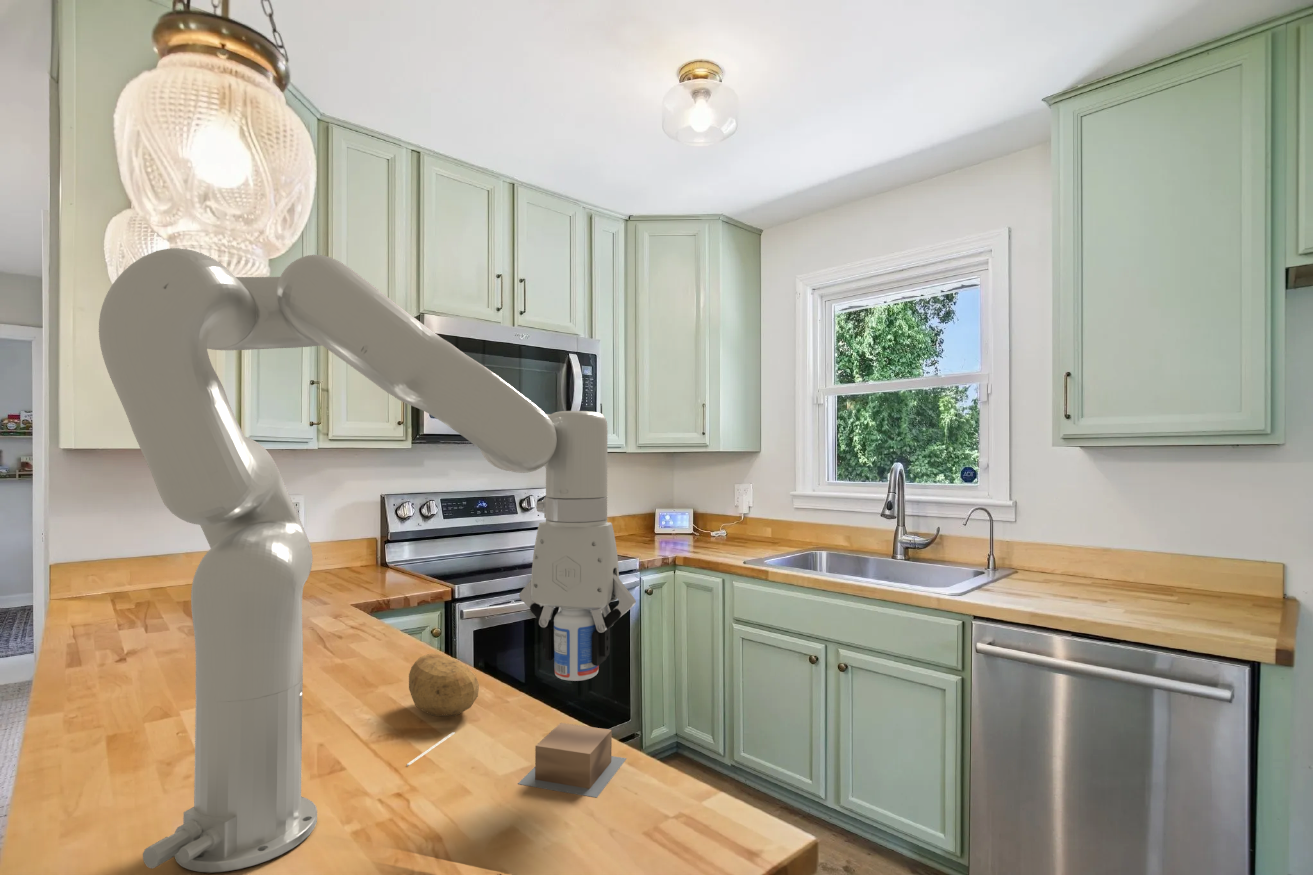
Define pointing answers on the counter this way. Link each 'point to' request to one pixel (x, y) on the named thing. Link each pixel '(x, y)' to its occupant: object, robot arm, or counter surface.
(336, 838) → the counter surface
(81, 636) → the counter surface
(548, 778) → the brown square block
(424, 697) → the potato
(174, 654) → the counter surface
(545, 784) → the baseplate
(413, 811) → the counter surface
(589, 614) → the pill bottle
